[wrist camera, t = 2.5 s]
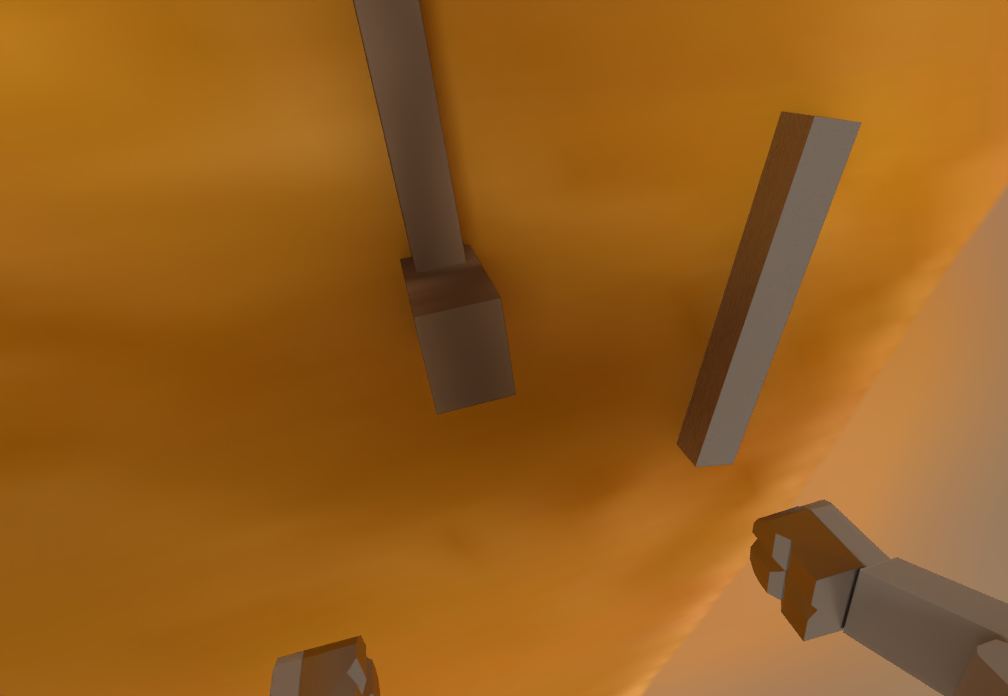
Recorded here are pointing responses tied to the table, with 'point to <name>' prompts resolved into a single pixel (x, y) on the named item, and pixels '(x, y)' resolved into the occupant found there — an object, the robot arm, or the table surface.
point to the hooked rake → (433, 218)
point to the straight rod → (764, 280)
